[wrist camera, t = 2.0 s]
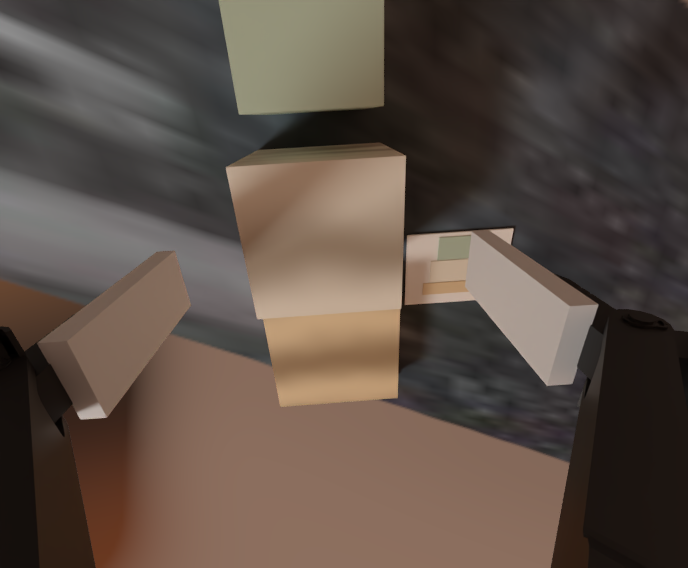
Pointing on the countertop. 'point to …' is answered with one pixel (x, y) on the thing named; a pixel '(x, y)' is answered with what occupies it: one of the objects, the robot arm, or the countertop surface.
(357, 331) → the base
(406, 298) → the page
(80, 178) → the countertop surface
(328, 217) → the birch brick
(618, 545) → the robot arm
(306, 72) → the sage brick
